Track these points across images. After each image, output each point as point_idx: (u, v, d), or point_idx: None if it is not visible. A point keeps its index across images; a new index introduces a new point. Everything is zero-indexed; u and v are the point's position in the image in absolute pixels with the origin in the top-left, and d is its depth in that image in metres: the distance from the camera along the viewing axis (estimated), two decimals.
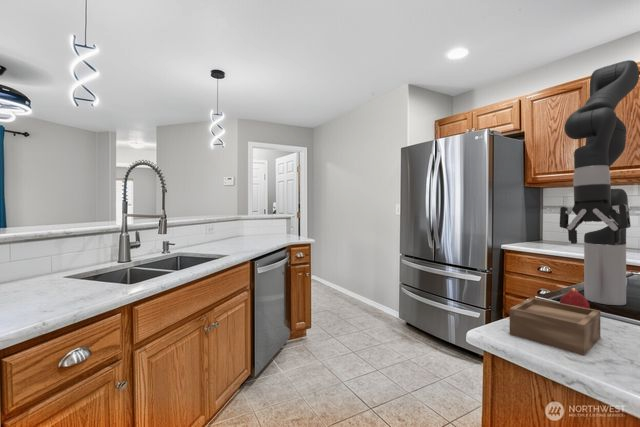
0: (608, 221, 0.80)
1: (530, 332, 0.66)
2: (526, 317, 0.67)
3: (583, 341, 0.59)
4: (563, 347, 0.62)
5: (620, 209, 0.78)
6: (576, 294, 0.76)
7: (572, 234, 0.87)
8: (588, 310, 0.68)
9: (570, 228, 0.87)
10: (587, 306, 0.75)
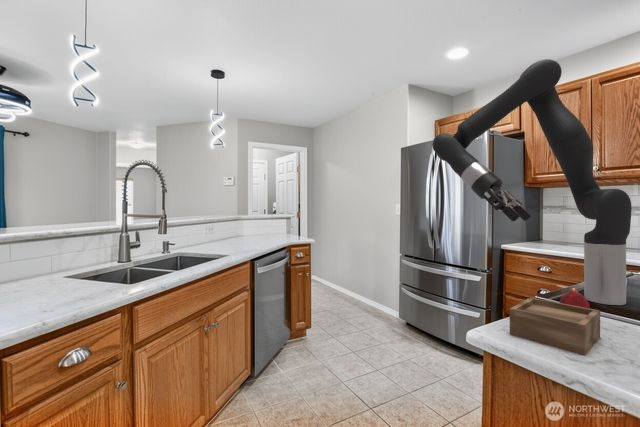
0: None
1: (530, 332, 0.66)
2: (526, 317, 0.67)
3: (583, 341, 0.59)
4: (563, 347, 0.62)
5: None
6: (576, 294, 0.76)
7: None
8: (588, 310, 0.68)
9: (513, 211, 0.92)
10: (587, 306, 0.75)
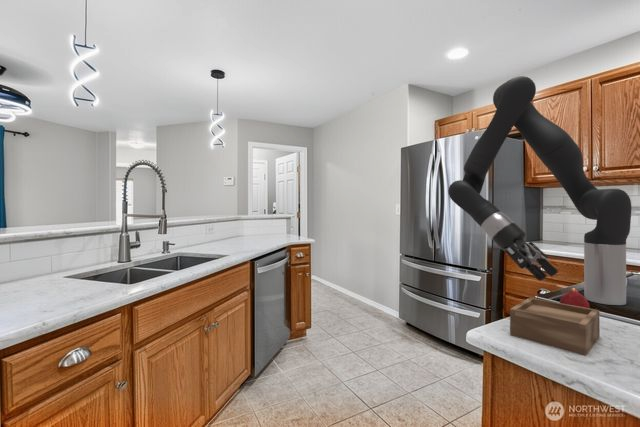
0: (520, 263, 0.84)
1: (531, 332, 0.66)
2: (527, 317, 0.67)
3: (584, 341, 0.59)
4: (564, 347, 0.62)
5: None
6: (576, 294, 0.76)
7: None
8: (587, 310, 0.68)
9: None
10: (587, 306, 0.75)
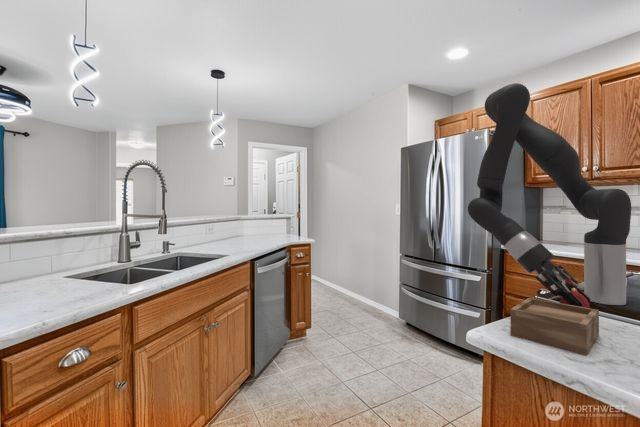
0: (551, 289, 0.79)
1: (531, 332, 0.66)
2: (527, 317, 0.67)
3: (585, 341, 0.59)
4: (565, 347, 0.62)
5: None
6: (576, 294, 0.76)
7: None
8: (587, 309, 0.68)
9: None
10: (587, 306, 0.75)
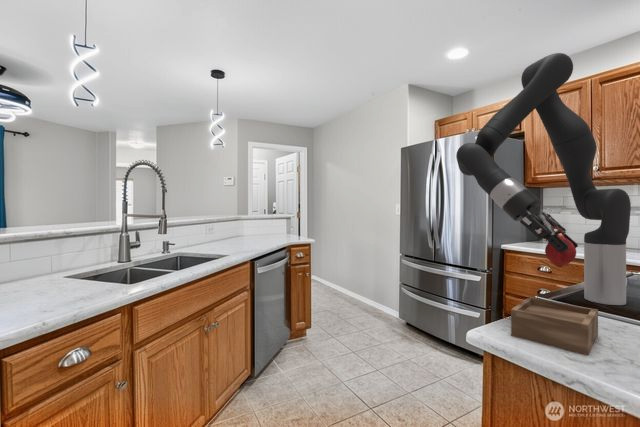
0: None
1: (532, 333, 0.66)
2: (528, 318, 0.66)
3: (587, 341, 0.59)
4: (566, 347, 0.62)
5: None
6: (562, 239, 0.72)
7: None
8: (586, 309, 0.69)
9: None
10: (573, 250, 0.70)
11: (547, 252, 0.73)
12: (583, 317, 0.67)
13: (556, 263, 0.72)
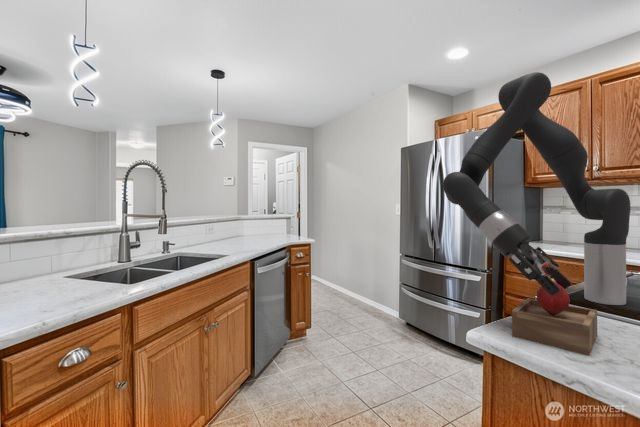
0: (527, 273, 0.69)
1: (533, 334, 0.66)
2: (529, 319, 0.66)
3: (588, 342, 0.59)
4: (568, 348, 0.62)
5: None
6: None
7: None
8: (585, 310, 0.69)
9: (548, 274, 0.73)
10: (567, 298, 0.66)
11: (539, 299, 0.69)
12: (583, 318, 0.67)
13: (549, 311, 0.68)
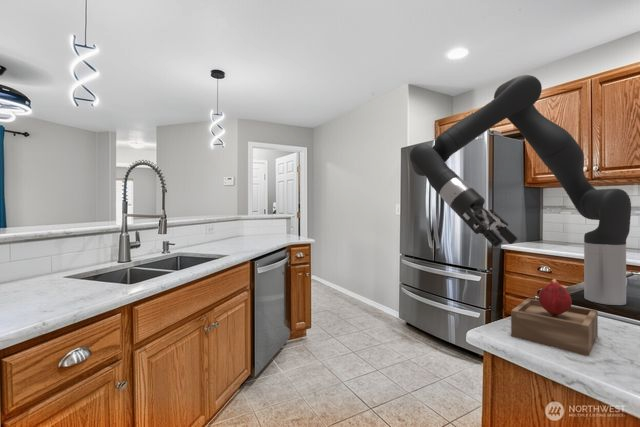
0: None
1: (532, 334, 0.66)
2: (528, 319, 0.66)
3: (587, 342, 0.59)
4: (567, 349, 0.61)
5: None
6: (557, 286, 0.67)
7: (503, 237, 0.80)
8: (586, 310, 0.68)
9: None
10: (569, 300, 0.65)
11: (541, 300, 0.68)
12: (583, 318, 0.66)
13: (551, 312, 0.67)
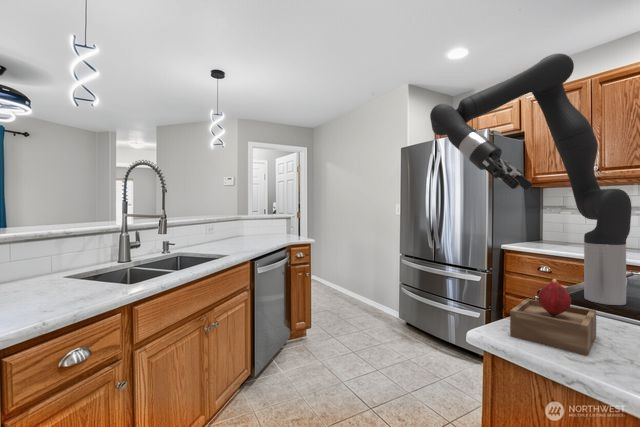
0: None
1: (531, 334, 0.66)
2: (527, 319, 0.66)
3: (586, 342, 0.59)
4: (566, 349, 0.61)
5: None
6: (556, 286, 0.67)
7: None
8: (584, 310, 0.69)
9: None
10: (568, 300, 0.66)
11: (540, 299, 0.69)
12: (582, 318, 0.67)
13: (549, 312, 0.68)
